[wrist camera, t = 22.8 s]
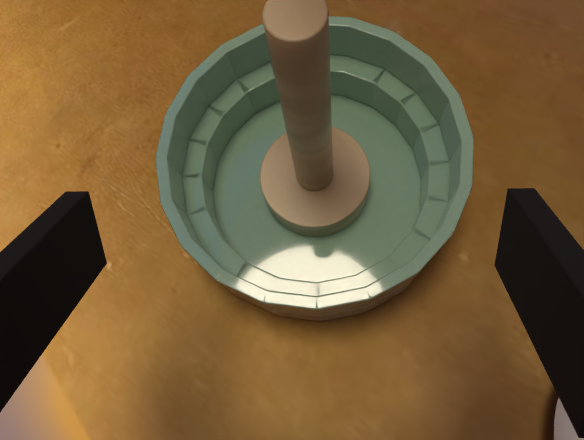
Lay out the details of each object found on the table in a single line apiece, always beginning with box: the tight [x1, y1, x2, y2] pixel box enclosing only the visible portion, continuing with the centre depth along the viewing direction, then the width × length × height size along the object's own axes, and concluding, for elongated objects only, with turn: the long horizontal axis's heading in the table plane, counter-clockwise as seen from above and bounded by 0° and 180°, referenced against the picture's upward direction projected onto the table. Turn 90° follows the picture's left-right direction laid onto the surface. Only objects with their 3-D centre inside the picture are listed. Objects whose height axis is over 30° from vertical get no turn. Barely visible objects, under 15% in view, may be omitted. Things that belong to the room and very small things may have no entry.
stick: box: [260, 0, 370, 237], centre depth 22 cm, size 6×6×15 cm
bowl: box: [156, 16, 474, 321], centre depth 28 cm, size 15×15×6 cm
